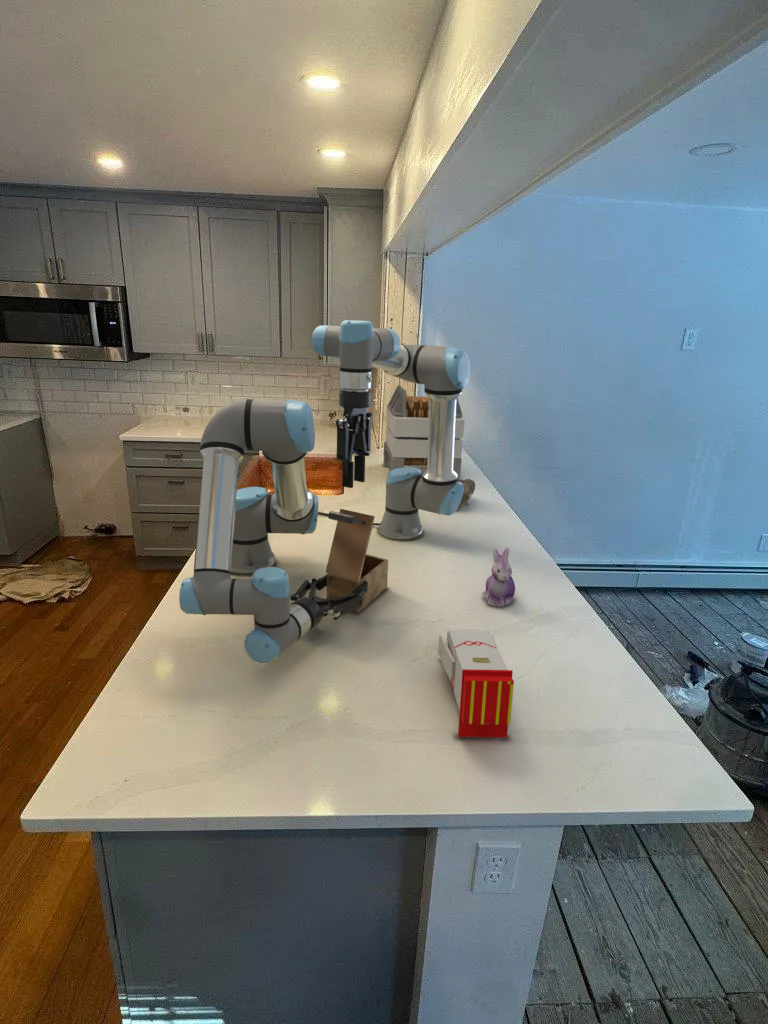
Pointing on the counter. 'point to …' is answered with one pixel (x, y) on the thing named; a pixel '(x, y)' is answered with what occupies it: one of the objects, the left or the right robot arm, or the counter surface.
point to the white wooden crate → (414, 432)
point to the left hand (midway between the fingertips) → (348, 581)
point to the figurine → (500, 581)
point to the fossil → (466, 491)
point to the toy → (478, 682)
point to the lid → (349, 543)
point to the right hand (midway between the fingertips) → (353, 483)
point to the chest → (361, 581)
